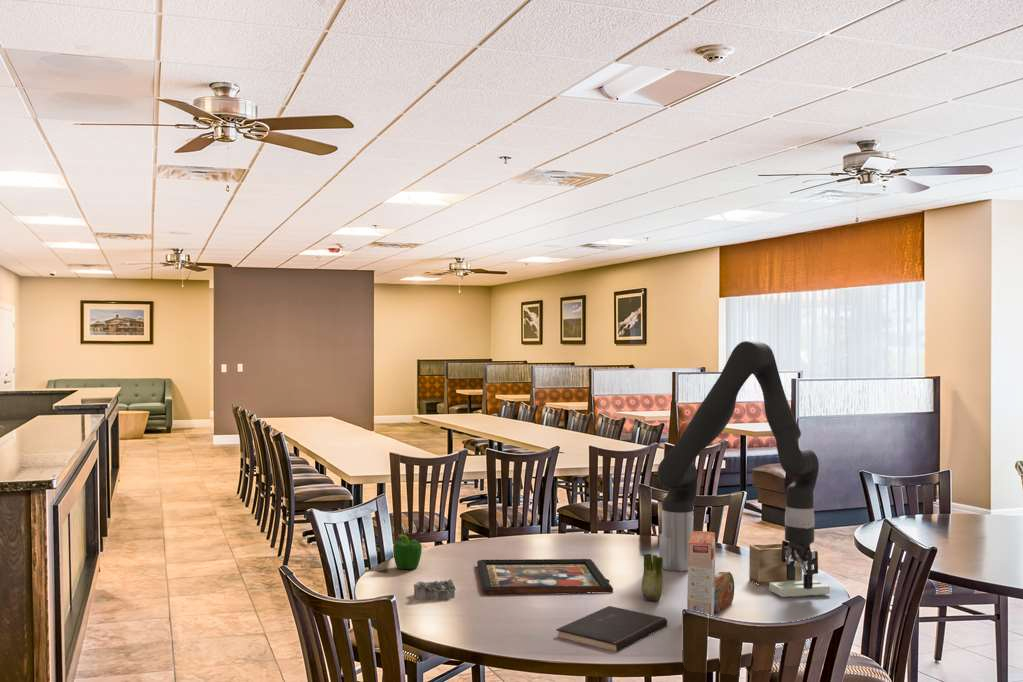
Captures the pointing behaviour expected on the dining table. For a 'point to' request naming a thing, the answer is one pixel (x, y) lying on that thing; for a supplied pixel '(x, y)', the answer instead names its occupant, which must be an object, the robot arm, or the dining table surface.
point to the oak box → (769, 564)
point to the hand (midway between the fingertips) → (799, 584)
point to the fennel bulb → (652, 577)
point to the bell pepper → (407, 553)
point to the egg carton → (434, 590)
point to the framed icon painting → (541, 576)
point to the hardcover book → (612, 628)
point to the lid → (798, 588)
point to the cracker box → (701, 572)
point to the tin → (723, 591)
